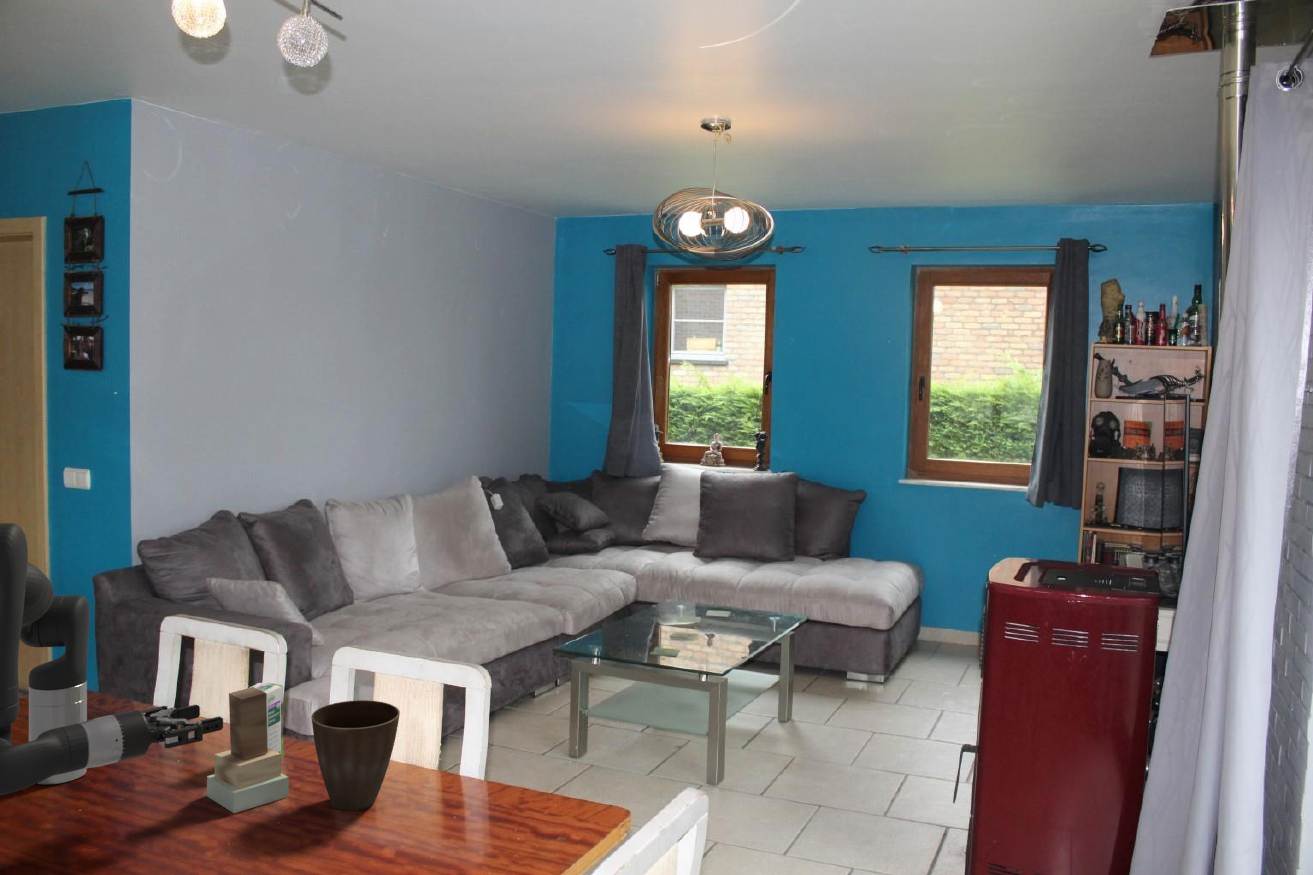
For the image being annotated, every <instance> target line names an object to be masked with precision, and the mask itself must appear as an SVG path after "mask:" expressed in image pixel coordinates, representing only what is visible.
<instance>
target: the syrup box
mask: <svg viewBox="0 0 1313 875" xmlns="http://www.w3.org/2000/svg"><path fill="white" fill-rule="evenodd" d="M251 687H254V688H256V689H259V690H261V691H263V692H265V693H266V712H267V746H268V748H270V749H272V750H274V751H276V752H279V753H281V759H282V758H283V757H284V685H283V684H280V683H279V684H278V683H271V682H257V683H256V684H254V685H252V686H249V688H251Z"/></svg>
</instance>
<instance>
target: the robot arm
mask: <svg viewBox="0 0 1313 875" xmlns="http://www.w3.org/2000/svg"><path fill="white" fill-rule="evenodd" d="M28 550H29V549H28V542H27V537H26V533H25V531H24V530H23V528H22V527H21V526H20V525H18V524H17V523H11V522H9V523H8V522H1V523H0V795H1V796H2V795H8V794H12V793H15V792H19V791H22V790H25V789H27V788H29V787H31V786H35V785H57V784H63V783H67V782H71V781H74V780H76V779H79V778H82V776H84V775H85V774H86V773H87V769H90V768H98V767H103V766H107V765H111V764H114V763H119V762H123V761H124V762H125V761H128V760H130V759H131V760H132V759H135V758H139V757H143V756H144V755H146V754H147V752H148V750H149V747H150V746H151V745H152V744H158V745H159V744H164V749H172V748H177V747H180V746H186V745H188V744H189V745H190V744H194V743H199V742H203V740H204V736H203V735H206V734H210V733H215V732H218V731H222V730H223V728H224V718H223V717H221V716H215V717H211V718H205V719H202V720H194V719H198V718H199V717H200V716H201V715H200V714H201V712H200V711H201V707H200V705H198V704H192V705H187V706H183V707H179V708H178V707H177V708H176V707H174V706H173V707H170V708H169V707H168V706H167V705H162V706H158V707H153V708H149V709H144V710H139V709H133V710H127V711H123V712H118V713H114V714H109V715H104V716H100V717H95V718H91V719H88V710H87V709H88V691H87V690H88V661H89V660H88V656H89V653H88V649H89V633H90V622H91V621H90V620H91V611H90V604H89V601H88V599H87V598H86V596H83V595H79V594H78V595H76V594H73V595H72V594H68V595H67V594H65V595H61V594H60V595H55V593H54V592H55V591H54V587H53V584H52V582H51V581H50V579H49V577H48V576H47V575H46V574H45V573H44V572H43V571H42V570H41V569H40V568H39V567H38V566H36V565H35V564H33V563H30V561H29V560H28V559H29V556H28V554H29V551H28ZM20 641H21V643H23V644H25V645H26V646H28V647H32V648H56V647H57V648H58V647H59V648H61V647H63V648H65V650H64V653H63V655H60V656H59V657H58V658H55V659H53V660H51V661H47V662H44V663H41V664H39V665H37V666H35V667H33V668H32V669H31V670H30V671H29V674H28V741H27V742H25V743H20V744H13V742H12V727H13V726H12V725H13V723H14V722H15V721H16V720H17V718H18V717H19V712H20V688H19V683H20V682H19V651H20ZM192 720H194V721H192ZM179 726H180V727H179ZM36 783H37V784H36Z"/></svg>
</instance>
